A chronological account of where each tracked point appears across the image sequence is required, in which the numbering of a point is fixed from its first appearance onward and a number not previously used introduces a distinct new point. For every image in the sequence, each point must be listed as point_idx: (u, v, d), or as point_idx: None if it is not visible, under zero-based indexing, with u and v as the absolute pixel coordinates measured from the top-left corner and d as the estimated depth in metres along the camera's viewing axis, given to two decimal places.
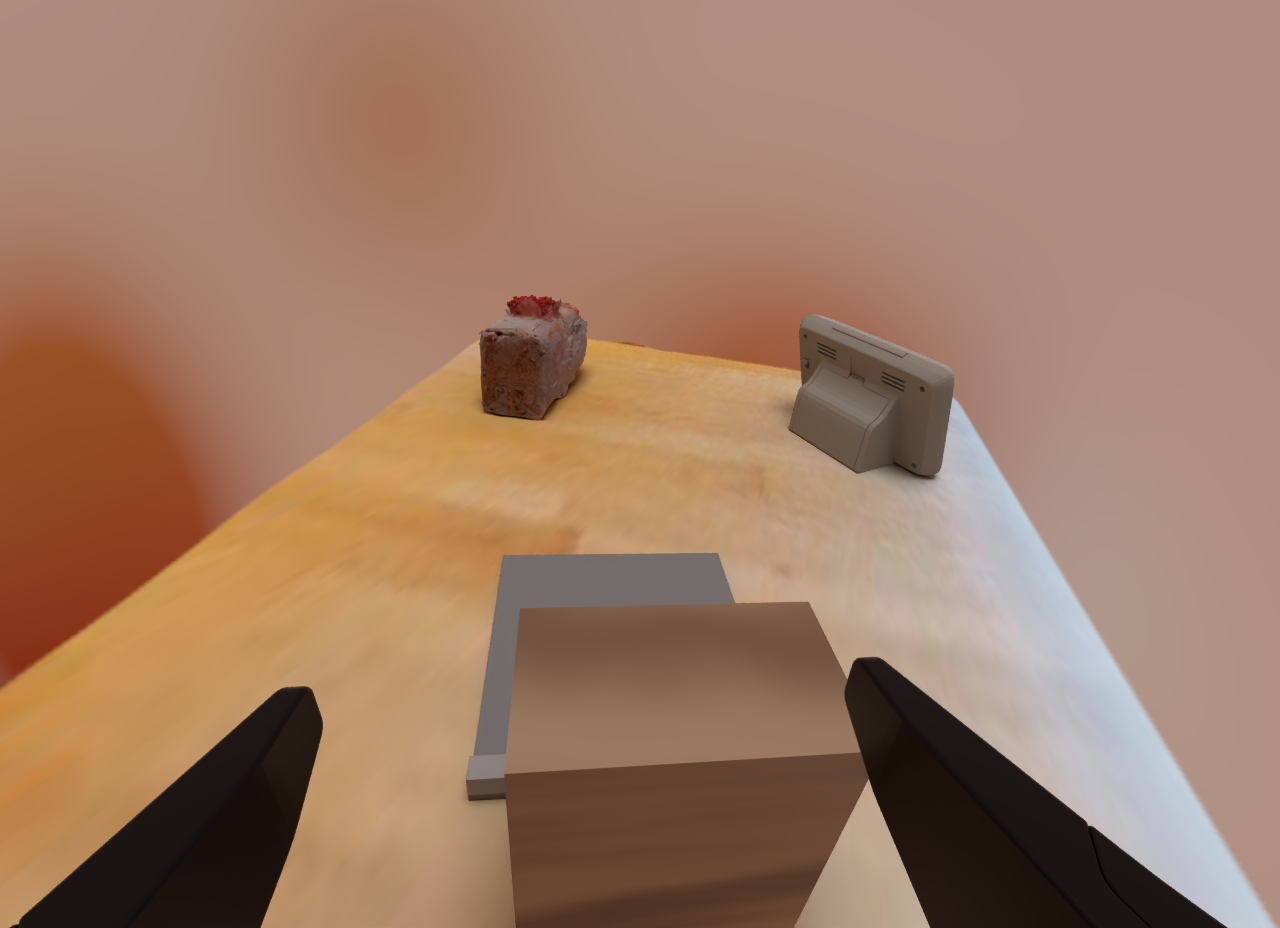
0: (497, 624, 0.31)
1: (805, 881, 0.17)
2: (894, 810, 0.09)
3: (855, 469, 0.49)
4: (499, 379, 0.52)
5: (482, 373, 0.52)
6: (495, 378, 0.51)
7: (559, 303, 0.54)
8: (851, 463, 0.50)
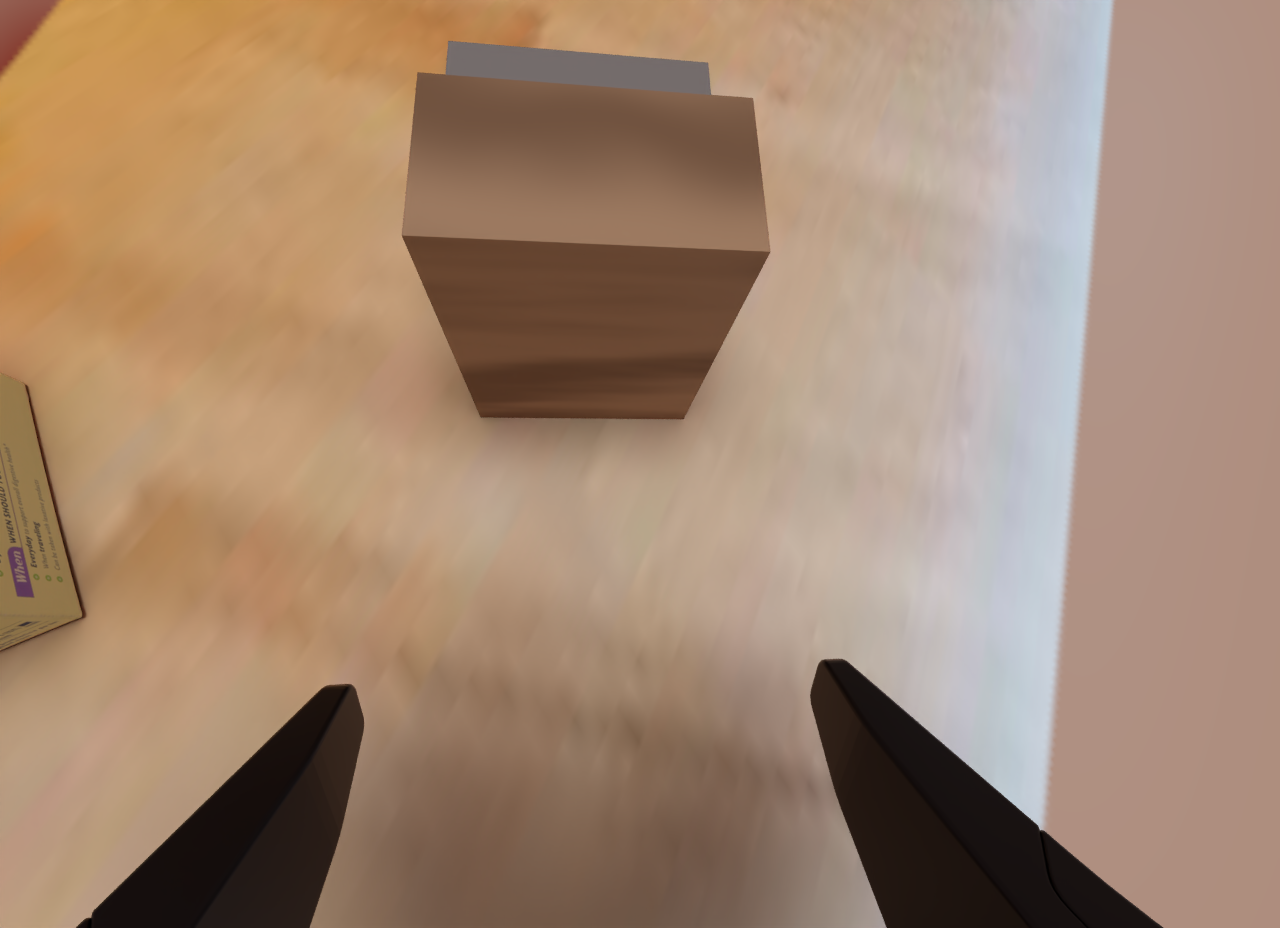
0: None
1: (700, 366, 0.21)
2: (855, 813, 0.09)
3: None
4: None
5: None
6: None
7: None
8: None
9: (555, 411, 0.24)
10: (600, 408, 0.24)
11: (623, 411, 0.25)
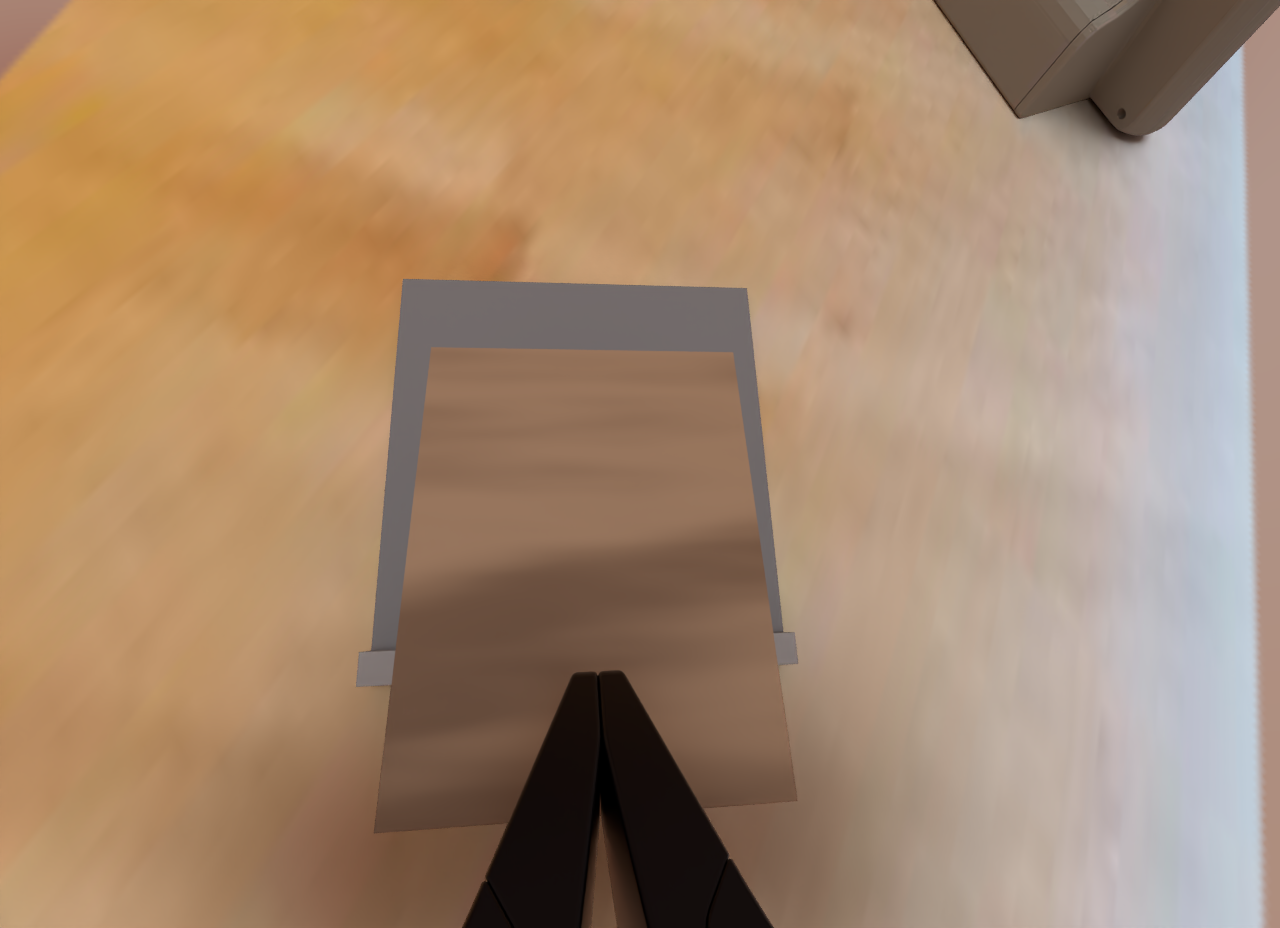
0: (397, 415, 0.21)
1: (749, 563, 0.15)
2: (607, 834, 0.08)
3: (1018, 110, 0.29)
4: None
5: None
6: None
7: None
8: (1016, 96, 0.29)
9: None
10: None
11: None
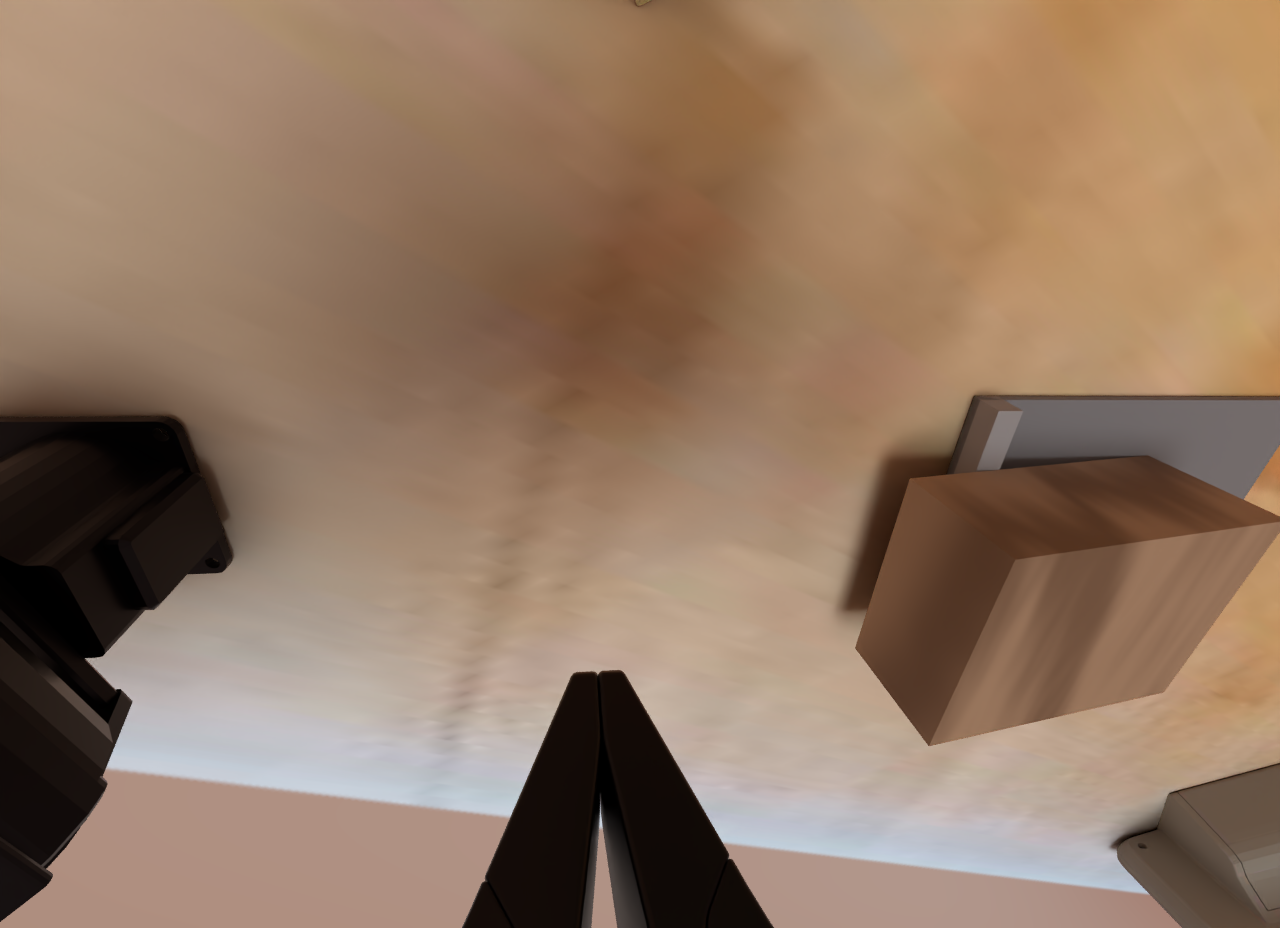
0: (1185, 405, 0.23)
1: (1044, 714, 0.23)
2: (607, 834, 0.08)
3: (1177, 795, 0.40)
4: None
5: None
6: None
7: None
8: (1189, 797, 0.39)
9: (998, 633, 0.19)
10: (989, 671, 0.20)
11: (971, 692, 0.21)
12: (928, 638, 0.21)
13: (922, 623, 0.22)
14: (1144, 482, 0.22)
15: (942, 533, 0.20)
